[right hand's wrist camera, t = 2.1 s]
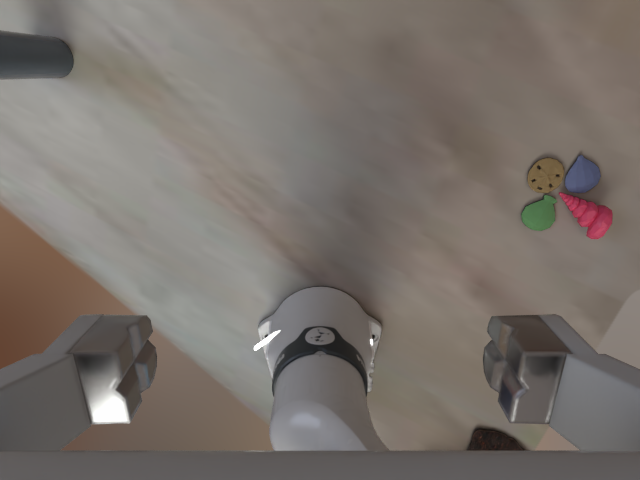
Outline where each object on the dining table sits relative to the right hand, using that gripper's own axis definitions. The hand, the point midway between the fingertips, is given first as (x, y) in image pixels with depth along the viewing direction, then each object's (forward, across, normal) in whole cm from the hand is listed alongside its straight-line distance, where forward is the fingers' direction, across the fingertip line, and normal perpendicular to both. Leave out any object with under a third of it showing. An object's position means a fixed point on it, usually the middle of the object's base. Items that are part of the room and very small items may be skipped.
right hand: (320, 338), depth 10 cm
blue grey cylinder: (+48, -32, +8) cm, 58 cm away
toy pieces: (+48, +33, -10) cm, 59 cm away
